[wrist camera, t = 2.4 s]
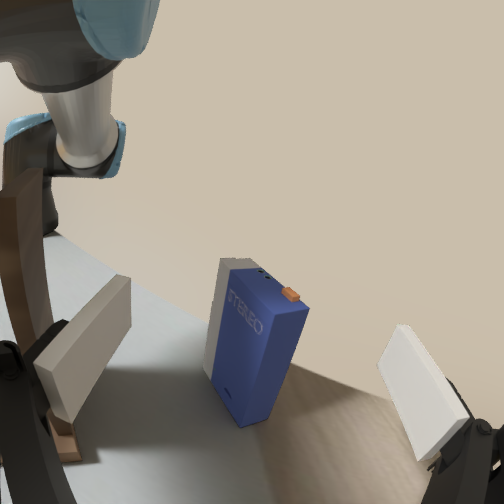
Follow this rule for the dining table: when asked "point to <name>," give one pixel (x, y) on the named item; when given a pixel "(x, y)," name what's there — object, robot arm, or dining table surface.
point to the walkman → (251, 338)
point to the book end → (29, 281)
